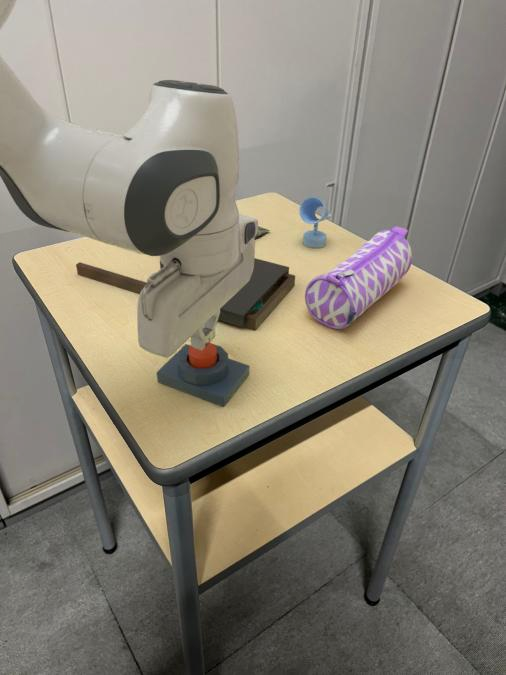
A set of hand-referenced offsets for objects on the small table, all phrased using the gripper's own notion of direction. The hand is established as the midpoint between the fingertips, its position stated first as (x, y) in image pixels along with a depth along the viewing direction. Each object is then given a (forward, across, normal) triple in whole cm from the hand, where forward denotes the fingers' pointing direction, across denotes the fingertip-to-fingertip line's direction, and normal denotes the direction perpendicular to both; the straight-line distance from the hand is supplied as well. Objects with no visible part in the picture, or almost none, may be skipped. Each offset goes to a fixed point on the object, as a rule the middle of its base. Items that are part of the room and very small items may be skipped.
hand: (203, 342), depth 65 cm
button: (+3, 0, 0) cm, 3 cm away
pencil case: (+6, +29, -12) cm, 32 cm away
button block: (+6, 0, 0) cm, 6 cm away
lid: (+6, +21, +9) cm, 23 cm away
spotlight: (+6, +45, +2) cm, 45 cm away
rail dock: (+6, +21, +17) cm, 27 cm away
